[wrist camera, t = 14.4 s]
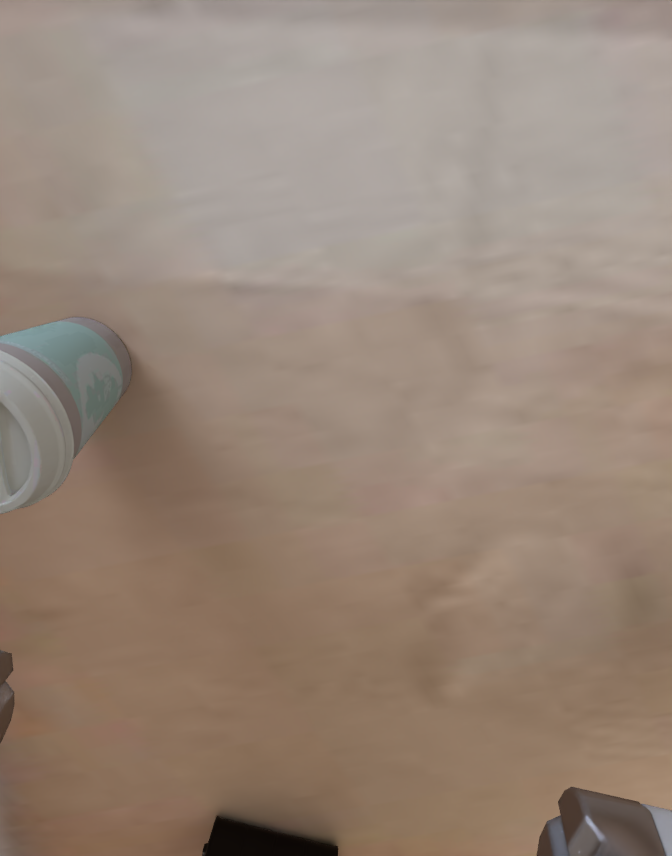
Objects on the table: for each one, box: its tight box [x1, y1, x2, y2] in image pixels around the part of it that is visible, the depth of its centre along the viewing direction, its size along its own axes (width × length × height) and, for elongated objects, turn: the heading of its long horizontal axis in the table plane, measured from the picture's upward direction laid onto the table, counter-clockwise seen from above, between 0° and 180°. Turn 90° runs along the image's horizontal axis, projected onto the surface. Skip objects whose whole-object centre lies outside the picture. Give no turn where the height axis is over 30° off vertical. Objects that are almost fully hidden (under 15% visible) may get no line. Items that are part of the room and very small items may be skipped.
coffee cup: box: [0, 317, 132, 514], centre depth 34 cm, size 8×8×12 cm
